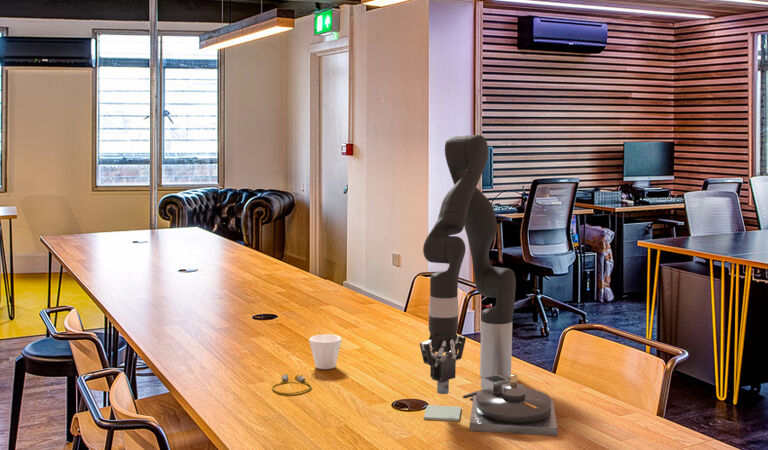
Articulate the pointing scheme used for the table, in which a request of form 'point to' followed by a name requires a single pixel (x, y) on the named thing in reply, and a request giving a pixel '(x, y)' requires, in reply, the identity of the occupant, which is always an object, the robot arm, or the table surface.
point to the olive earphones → (298, 377)
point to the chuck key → (445, 373)
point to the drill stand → (513, 424)
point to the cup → (325, 350)
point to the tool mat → (442, 413)
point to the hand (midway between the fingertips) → (442, 377)
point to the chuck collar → (511, 401)
